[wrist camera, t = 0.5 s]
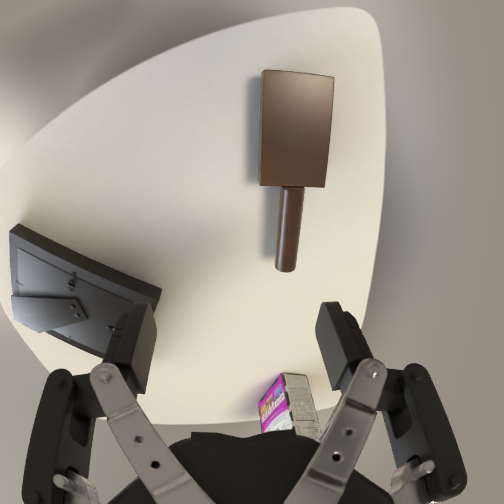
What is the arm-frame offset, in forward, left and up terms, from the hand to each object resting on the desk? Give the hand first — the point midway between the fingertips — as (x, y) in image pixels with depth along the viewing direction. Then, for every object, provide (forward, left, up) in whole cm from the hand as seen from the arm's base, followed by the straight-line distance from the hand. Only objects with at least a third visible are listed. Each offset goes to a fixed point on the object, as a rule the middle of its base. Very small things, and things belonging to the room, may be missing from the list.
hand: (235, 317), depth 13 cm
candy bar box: (+34, +8, -16) cm, 38 cm away
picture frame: (+13, -21, -16) cm, 29 cm away
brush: (-3, +5, -16) cm, 17 cm away
